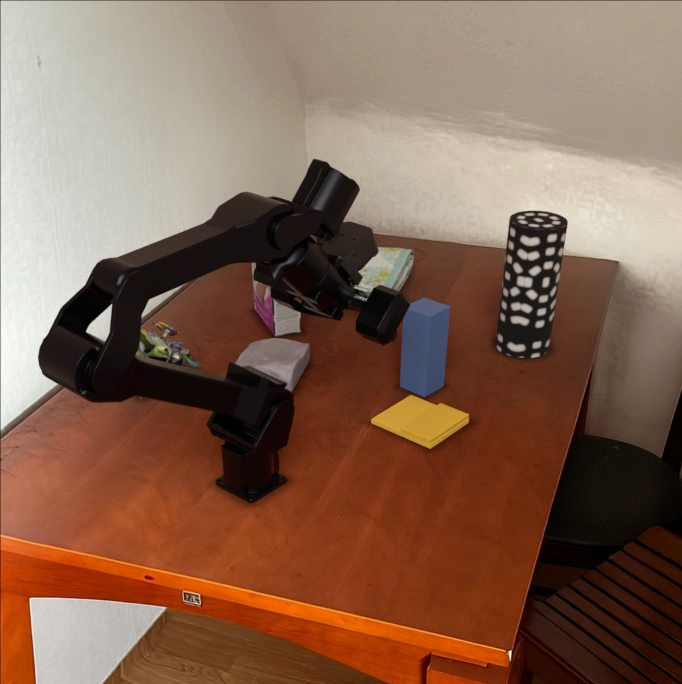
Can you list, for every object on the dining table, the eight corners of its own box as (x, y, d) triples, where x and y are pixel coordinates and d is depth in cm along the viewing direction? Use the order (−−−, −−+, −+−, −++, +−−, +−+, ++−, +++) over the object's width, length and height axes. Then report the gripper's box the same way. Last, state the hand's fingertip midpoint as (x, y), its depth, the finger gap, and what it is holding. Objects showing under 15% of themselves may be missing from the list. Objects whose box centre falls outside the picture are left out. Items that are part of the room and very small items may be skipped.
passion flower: (173, 408, 142) (216, 351, 136) (140, 432, 132) (184, 371, 126) (116, 359, 141) (156, 299, 135) (78, 379, 131) (120, 315, 126)
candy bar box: (252, 310, 157) (246, 213, 148) (280, 306, 159) (277, 209, 149) (272, 338, 149) (268, 237, 139) (302, 333, 151) (300, 232, 141)
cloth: (430, 449, 123) (430, 440, 122) (370, 423, 128) (371, 415, 127) (469, 422, 129) (469, 414, 128) (410, 398, 134) (411, 390, 133)
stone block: (231, 401, 136) (296, 396, 133) (223, 370, 134) (289, 365, 131) (254, 366, 146) (316, 361, 143) (247, 337, 143) (309, 331, 141)
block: (424, 397, 134) (429, 316, 127) (399, 386, 137) (403, 307, 129) (443, 386, 137) (450, 306, 130) (419, 375, 139) (424, 297, 132)
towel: (281, 304, 160) (281, 275, 157) (321, 260, 176) (320, 233, 173) (385, 318, 155) (386, 289, 152) (415, 272, 172) (417, 244, 169)
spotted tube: (485, 339, 150) (499, 214, 138) (531, 331, 152) (548, 208, 140) (511, 361, 143) (527, 232, 131) (558, 353, 146) (579, 226, 134)
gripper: (404, 227, 103) (456, 292, 116) (283, 190, 113) (344, 254, 126) (355, 315, 103) (412, 371, 116) (238, 271, 113) (304, 327, 126)
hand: (367, 327), depth 121 cm, fingers open, 9 cm apart
